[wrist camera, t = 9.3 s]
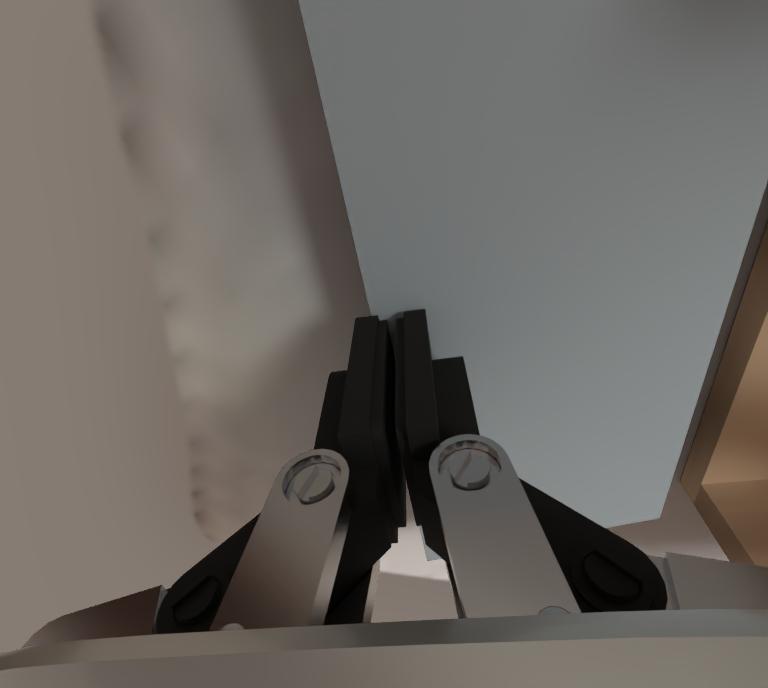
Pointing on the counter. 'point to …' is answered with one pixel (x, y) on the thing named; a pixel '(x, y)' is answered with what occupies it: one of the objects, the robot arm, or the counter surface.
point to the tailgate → (555, 211)
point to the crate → (737, 433)
